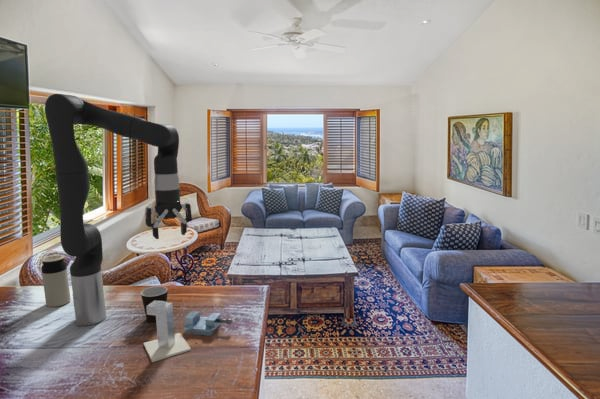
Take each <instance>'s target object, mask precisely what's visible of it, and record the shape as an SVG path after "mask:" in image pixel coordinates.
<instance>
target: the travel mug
mask: <svg viewBox="0 0 600 399" xmlns="http://www.w3.org/2000/svg"><path fill="white" fill-rule="evenodd" d="M65 257H66V256H65V255H64V254H52V255H51V254H50V255H47V256H43V257H42V258H41V259H40V261H41V262H42V266H41V268H40V270H41V274H42V277H41V278H42V284H43V292H44V300H45V306H46V307H50V308H57V307H62V306H65V305H66V304H67V305H68V303H70V302H71V300H72V299H71V292H70V290H71V289H70V285H69V276H68V267H67V263H66V262H65Z"/></svg>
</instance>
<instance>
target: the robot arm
mask: <svg viewBox="0 0 600 399" xmlns="http://www.w3.org/2000/svg"><path fill="white" fill-rule="evenodd" d="M44 114H45V120H46V124H47V127H48V131H49V135H50V140H51V146H52V147H51V148H52V153H53V160H54V169H55V180H56V186H57V187H56V188H57V191H58V193H57V194H58V203H59V204H58V205H59V213H60V214H59V215H60V216H59V217H60V219H59V220H60V222H59V223H60V227H59V228H60V230H59V232H60V236H59V237H60V238H59V239H60V245H61V248H62V250H63V251H64V252H65V254H67V255H68V256H70V257H73V258H74V260H73V262H72V263H71V265H70V266H69V273H70V280H71V288H72V299H73V300H72V301H73V308H74V310H73V311H74V316H75V322H76V327H79V326H91V325H96V324H98V323H101V322H102V321H103V320H105V319H106V318H107V313H106V312H107V311H106V310H107V309H106V301H105V293H104V282H103V281H104V280H103V275H102V274H103V273H102V263H103V258H104V257H103V256H104V255H103V241H102V235H101V234H102V233H101V232H100V230H99V228H98V227H97V226H95V225H94V224H92V223H84V210H85V206H86V202H87V201H88V200H87V199H88V196H89V192H90V187H91V182H90V181H91V180H90V171H89V166H88V163H87V161H86V159H85V157H84V155H83V153H82V151H81V149H80V148H79V146H78V144H77V141H76V137H75V127H74V126H75V125H82V126H83V125H85V126H93V127H97V128H100V129H104V130H106V131H108V132H110V133H113V134H115V135H117V136H122V137H125V138H127V139H132V140H138V141H140V142H143V143H145V144H147V145H150V146H153V147H157V155H155V156H154V158H153V170H154V179H153V180H154V181H153V183H154V195H155V196H154V197H155V198H154V199H155V206H154V207H149V206H146V207H145V210H144V211H145V225H146V226H147V227H148V228H152V229H151V230H152V236H153V238H155V239H156V240H158V239H160V236H159V227H158V226H159V225H160V223H161V222H163V220H168V219H176V218H177V219H178V221H180V234H181V235H182V236H185V235H186V234H187V232H188V230H187V228H188V227H187V224H188V223H189V222H192V221H193V217H192V216H193V215H192V208H191V207H192V206H191V204H190V203H188V202H185V203H181V195H180V194H181V191H180V186H181V184H180V178H179V173H178V154H179V148H180V144H179V143H180V136H179V133H178V130H177V128H176V126H175V127H174V125H171V124H169V123H168V124H165V123H163V124H162V123H156V122H152V121H148V120H146V119H144V118H142V117H140V116H135V115H131V114H127V113H124V112H119V111H114V110H111V109H106V108H104V107H100V106H98V105H95V104H93V103H91V102H89V101H86V100H84V99H83V98H80V97H78V96H75V95H71V94H63V93H54V94H50V95H49V96H48V97H47V99H46V100H45V103H44ZM182 209H183V210H184V212H185V218H184V216H182V214H181V213H180V212H181V210H182ZM154 212H155V213H156V216H155V217H154V220H153V221H152V215H153V214H154Z"/></svg>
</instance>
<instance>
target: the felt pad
mask: <svg viewBox="0 0 600 399" xmlns="http://www.w3.org/2000/svg"><path fill="white" fill-rule="evenodd" d="M143 347H144V348H145V350H146V352H147V356H148V357H149V360H150V361H151V363H154V362H158V361H161V360H164V359H167V358H170V357H174V356H176V355H180V354H183V353H188V352H189V351H191V350H192V348H191V347H190V345H189V343H188V342H187V341H186V339H185V338H184V337H183V335H182V334H181V332H176V333H175V344H174V345H173V346H172V347H171V348H170V349H164V348H158V338H156V339H153V340H150V341H145V342H143Z"/></svg>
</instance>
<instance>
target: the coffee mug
mask: <svg viewBox="0 0 600 399" xmlns="http://www.w3.org/2000/svg"><path fill="white" fill-rule="evenodd" d="M168 292H169V291H168V287H166V286H161V285H159V286H157V285H156V286H149V287H147V288H144V289H143V290H142V291H140V296H141V299H142V300H141V301H142V304H143V309H144V314H145V318H146V319H145V320H146V322H148V323H150V324H154V323H155V324H156V316H155V315H147V310H146V306H147V305H149V304H150V303H151V302H153V301H154V300H157V301H165V302H168Z"/></svg>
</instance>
